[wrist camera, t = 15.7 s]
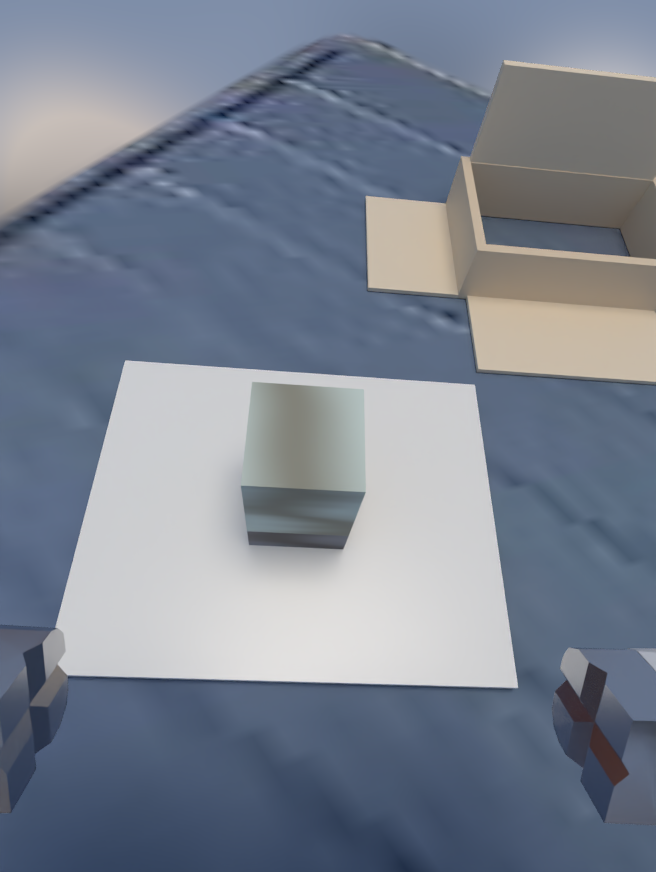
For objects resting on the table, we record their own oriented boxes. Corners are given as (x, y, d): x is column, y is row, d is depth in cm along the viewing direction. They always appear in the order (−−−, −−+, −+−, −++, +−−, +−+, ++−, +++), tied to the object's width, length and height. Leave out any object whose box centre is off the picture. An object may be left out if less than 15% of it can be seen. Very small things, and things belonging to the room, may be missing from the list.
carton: (699, 230, 41) (815, 95, 32) (777, 393, 33) (957, 275, 24) (365, 199, 39) (391, 47, 30) (369, 364, 31) (406, 224, 23)
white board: (471, 390, 31) (474, 384, 30) (512, 688, 23) (518, 687, 23) (127, 367, 30) (125, 360, 29) (48, 675, 22) (43, 674, 21)
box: (343, 464, 27) (364, 389, 21) (343, 549, 25) (366, 492, 19) (257, 460, 27) (252, 381, 21) (249, 544, 25) (241, 485, 19)
